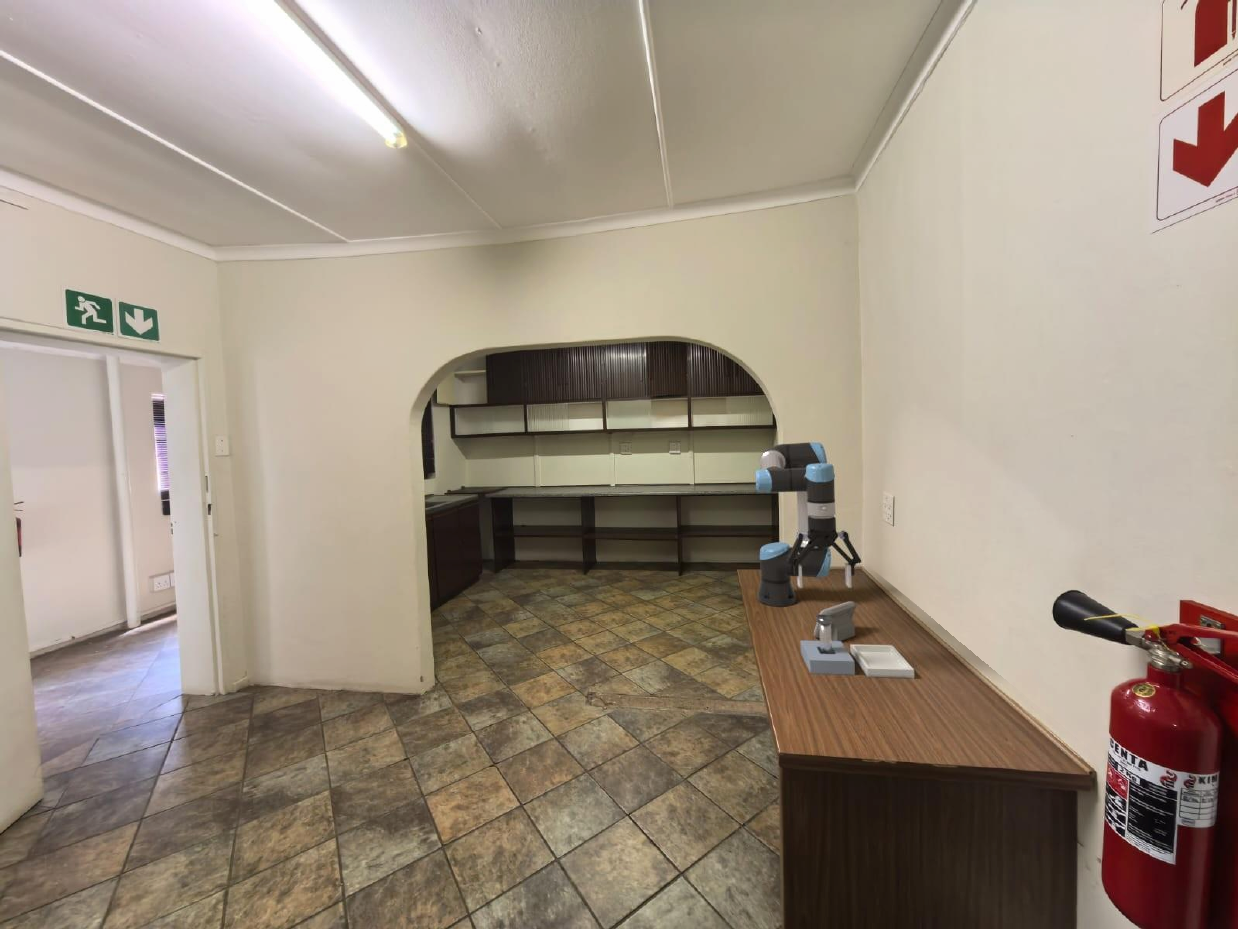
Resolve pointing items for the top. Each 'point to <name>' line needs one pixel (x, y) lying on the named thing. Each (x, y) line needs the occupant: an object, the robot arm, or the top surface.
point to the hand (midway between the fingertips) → (824, 586)
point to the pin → (825, 633)
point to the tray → (881, 661)
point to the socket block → (827, 658)
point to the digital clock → (839, 621)
